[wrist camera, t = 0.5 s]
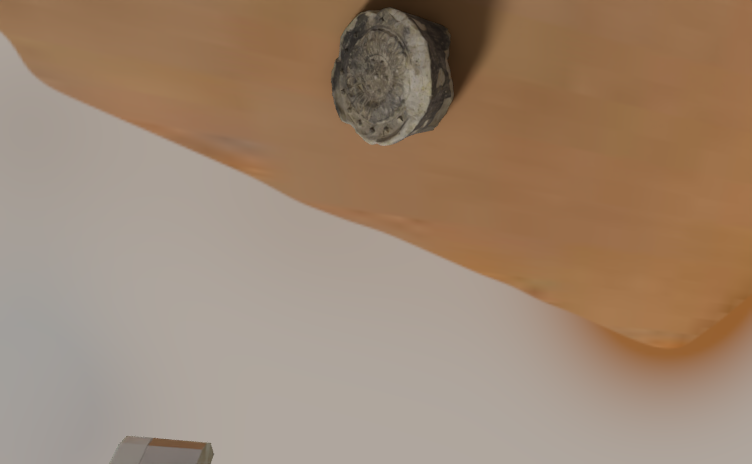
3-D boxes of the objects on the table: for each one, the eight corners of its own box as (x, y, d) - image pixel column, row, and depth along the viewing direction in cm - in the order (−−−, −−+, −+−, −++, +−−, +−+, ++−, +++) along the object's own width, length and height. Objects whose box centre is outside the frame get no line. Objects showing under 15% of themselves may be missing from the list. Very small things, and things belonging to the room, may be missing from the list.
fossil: (323, -2, 47) (375, 25, 40) (425, -11, 51) (492, 12, 43) (329, 127, 53) (376, 173, 45) (420, 112, 56) (478, 152, 49)
